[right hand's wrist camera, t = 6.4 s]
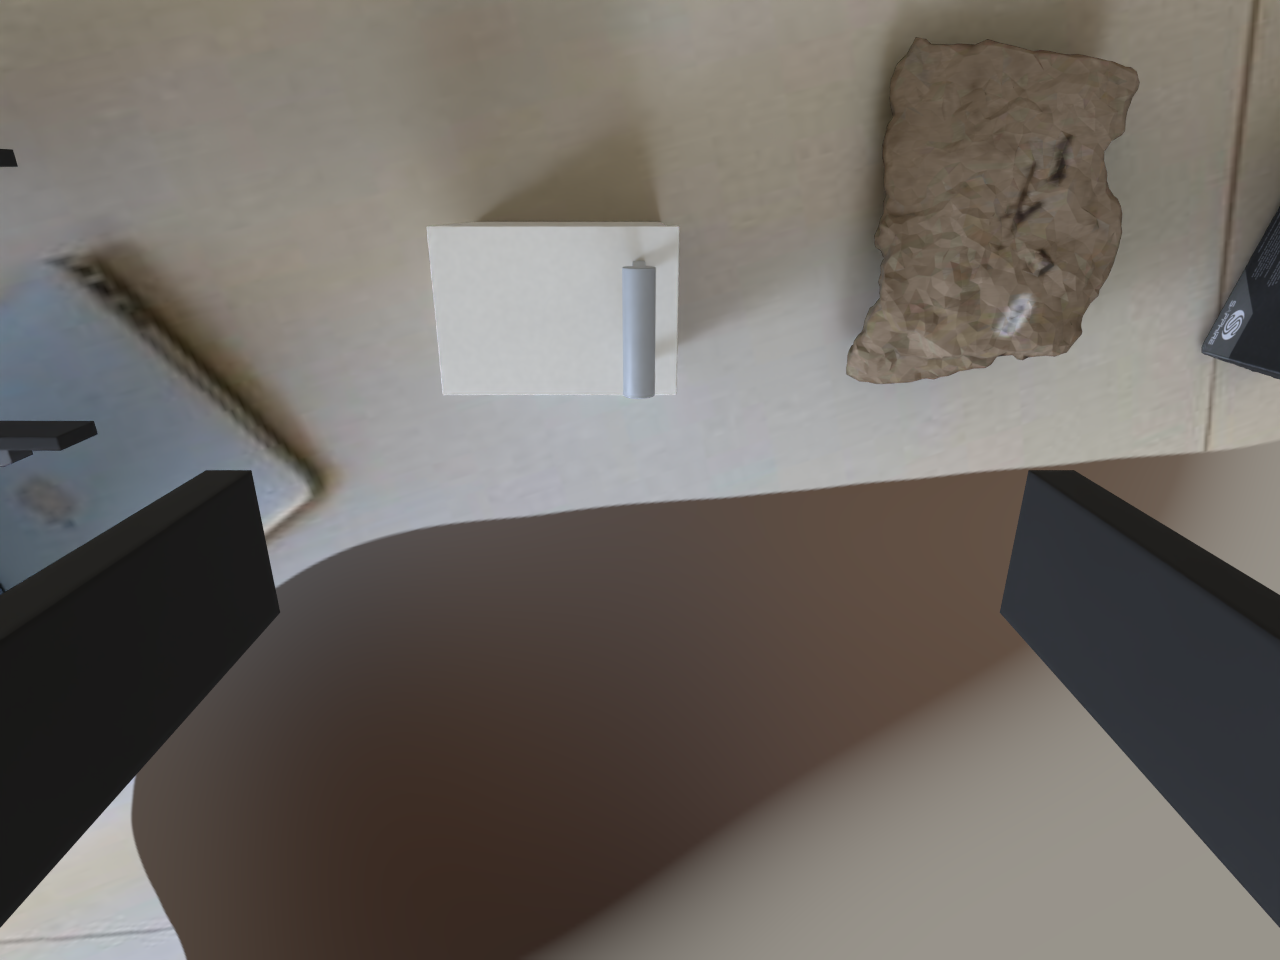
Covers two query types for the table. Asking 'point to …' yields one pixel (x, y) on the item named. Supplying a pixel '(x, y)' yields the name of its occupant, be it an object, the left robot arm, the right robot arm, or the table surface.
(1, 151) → the left robot arm
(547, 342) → the lid
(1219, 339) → the graphics card box
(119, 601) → the right robot arm
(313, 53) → the table surface
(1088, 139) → the stone
